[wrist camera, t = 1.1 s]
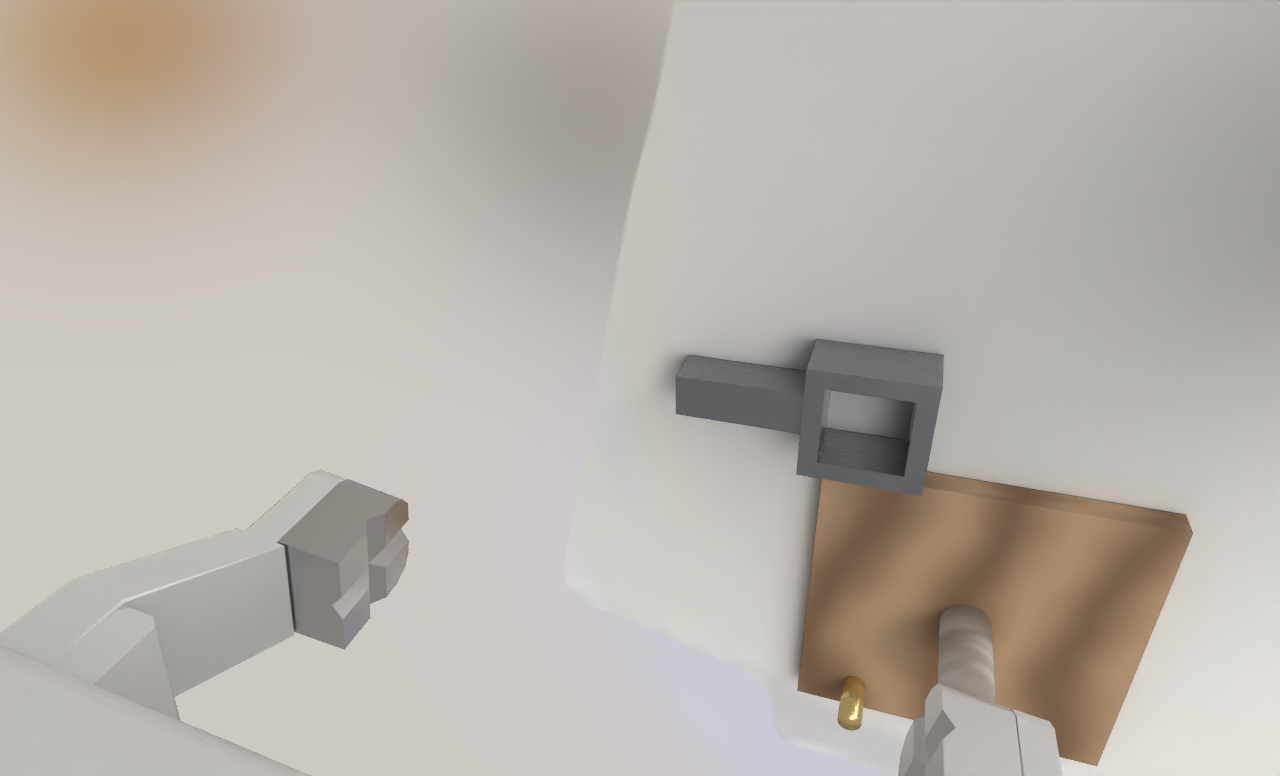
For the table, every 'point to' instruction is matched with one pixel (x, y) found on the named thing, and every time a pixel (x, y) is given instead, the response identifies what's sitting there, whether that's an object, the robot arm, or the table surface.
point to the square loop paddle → (826, 408)
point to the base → (987, 600)
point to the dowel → (851, 703)
